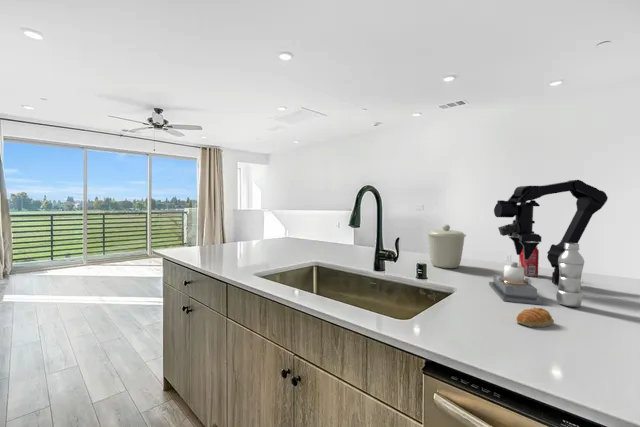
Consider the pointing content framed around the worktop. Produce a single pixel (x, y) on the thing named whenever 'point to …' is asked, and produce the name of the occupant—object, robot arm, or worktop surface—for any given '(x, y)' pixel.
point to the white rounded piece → (514, 273)
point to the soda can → (530, 263)
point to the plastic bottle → (570, 276)
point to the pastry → (535, 317)
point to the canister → (445, 247)
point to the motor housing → (515, 291)
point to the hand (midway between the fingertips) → (522, 256)
